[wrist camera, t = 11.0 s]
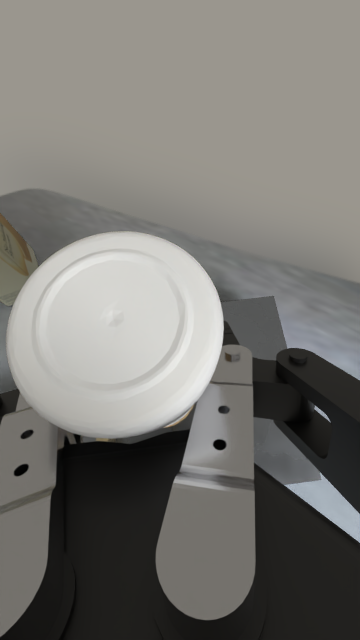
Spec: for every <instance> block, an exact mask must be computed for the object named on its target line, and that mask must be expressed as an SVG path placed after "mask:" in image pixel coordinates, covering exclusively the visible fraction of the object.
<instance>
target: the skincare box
mask: <svg viewBox="0 0 360 640" xmlns="http://www.w3.org/2000/svg"><path fill="white" fill-rule="evenodd" d="M38 267H39V266H38V263H37V260H36V257H35V254H34V251H33V249H32V248H31V247H30V246H29V245H28V244H27V242H26V241H25V240H24V239H23V238H22V237H21V236H20V235H19V234H18V232H17V231H16V230H15V229H14V228H13V227H12V226H11V225H10V223H9V222H8V221H7V220H6V219H5V218H4V217H3V215H2V214H1V213H0V301H1V302H2V303H3V304H5V305H6V306H11V305H13V304H14V302H15V300H16V298H17V296H18V294H19V292H20V290H21V289H22V287H23V285H24V284H25V283H26V281H27V280H28V278H29V277H30V276H31V275H32V274H33V272H34V271H35V270H36V269H37V268H38Z"/></svg>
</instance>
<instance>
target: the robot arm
mask: <svg viewBox="0 0 360 640" xmlns="http://www.w3.org/2000/svg"><path fill="white" fill-rule="evenodd" d="M223 323H224V331H223V343H222V348H221V353H220V356H219V360H218V363H217V366H216V368H215V371H214V373H213V376H212V378H211V380H210V382H209V384H208V386H207V387H206V389H205V390H204V392H203V394H202V395H201V396H200V397H199V399H198V401H197V405H196V409H195V413H194V417H193V421H192V425H191V429H188V430H180V431H172V432H166V433H163V434H160V435H157V436H154V437H151V438H148V439H145V440H142V441H140V442H137V443H133V444H127V443H116V442H106V441H93V442H85V443H83V436H82V435H78V434H74V433H71V432H68V431H66V430H64V429H62V428H60V427H57V426H56V425H54V424H52V423H50V422H49V421H47V420H46V419H45V418H43V417H42V416H40V415H39V414H38V413H37V412H36V411H35V410H34V409H33V408H32V407H31V406H30V405H29V404H28V403H27V402H26V400H25V398H24V397H23V396H22V395H21V393H20V391H19V389H16V390H13V391H10V392H6V393H3V394H0V640H360V543H359V542H358V541H357V540H355V539H354V538H353V537H351V536H350V535H349V534H347V533H346V532H345V531H343V530H342V529H341V528H339V527H338V526H337V525H336V524H334V523H333V522H332V521H330V520H329V519H328V518H326V517H325V516H324V515H322V514H321V513H320V512H318V511H317V510H316V509H315V508H313V507H312V506H311V505H309V504H308V503H307V502H305V501H304V500H303V499H301V498H300V497H299V496H297V495H296V494H295V493H294V492H292V491H291V490H290V489H288V488H287V487H286V486H284V485H283V484H282V483H280V482H279V481H278V480H276V479H275V478H274V477H273V476H271V475H270V474H269V473H267V472H266V471H265V470H263V469H262V468H261V467H259V466H258V465H257V464H255V463H254V435H253V417H256V418H264V419H272V420H273V421H274V423H275V425H276V426H277V427H278V428H279V429H280V430H281V431H282V432H283V434H284V435H285V436H286V437H287V438H288V439H289V440H290V441H291V442H292V443H293V444H294V445H295V446H296V447H297V448H298V449H299V450H300V451H301V452H302V454H303V455H304V456H305V457H306V458H307V459H308V460H309V461H310V462H311V463H312V464H313V465H314V466H315V467H316V468H317V469H318V470H319V471H320V472H321V473H322V475H323V476H324V477H325V478H326V479H327V480H328V481H329V482H330V483H331V484H332V485H333V486H334V487H335V488H336V489H337V490H338V491H339V492H340V493H341V495H342V496H343V497H344V498H345V499H346V500H347V501H348V502H349V503H350V504H351V505H352V506H353V507H354V508H355V509H356V510H357V511H358V512H359V513H360V380H358V379H356V378H355V377H353V376H351V375H350V374H348V373H346V372H345V371H343V370H341V369H340V368H338V367H336V366H334V365H333V364H331V363H329V362H328V361H326V360H324V359H323V358H321V357H319V356H318V355H316V354H314V353H313V352H311V351H308V350H305V349H299V348H288V349H284V350H281V351H280V352H278V354H277V356H276V360H264V359H257V358H254V357H252V353H251V351H250V350H249V349H248V348H246V347H243V346H240V344H239V342H238V340H237V338H236V337H235V335H234V334H233V331H232V329H231V327H230V326H229V324H228V322H226V321H224V320H223ZM315 405H316V406H317V407H318V408H319V409H320V410H322V411H323V412H324V413H325V414H326V415H327V416H328V418H329V419H330V421H331V423H330V422H329V421H328V420H327V419H325V418H324V417H323V416H322V415H321V414H319V413H318V412H317V411H316V410H315V409H314V408H315Z"/></svg>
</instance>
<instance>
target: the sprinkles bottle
mask: <svg viewBox="0 0 360 640" xmlns="http://www.w3.org/2000/svg"><path fill="white" fill-rule="evenodd" d="M223 331H224V323H223V312H222V307H221V302H220V299H219V296H218V293H217V290H216V288H215V286H214V284H213V282H212V280H211V279H210V277H209V276H208V274H207V273H206V272H205V270H204V269H203V268H202V266H201V265H200V264H199V263H198V262H197V261H196V259H195V258H193V257H192V256H191V255H190V254H188V253H187V252H186V251H185V250H183V249H182V248H180V247H178V246H177V245H175V244H173V243H171V242H169V241H167V240H165V239H162V238H159V237H156V236H153V235H150V234H145V233H139V232H130V231H116V232H107V233H101V234H97V235H93V236H89V237H86V238H83V239H80V240H78V241H75V242H73V243H71V244H69V245H67V246H66V247H64V248H62V249H60V250H59V251H57V252H56V253H54V254H53V255H52V256H50V257H49V258H48V259H47V260H45V261H44V262H43V263H42V264H41V265H40V266H39V267H38V268H37V269H36V270H35V271H34V272H33V274H32V275H31V276H30V277H29V278H28V280H27V281H26V283H25V284H24V285H23V287H22V289H21V290H20V292H19V294H18V296H17V298H16V300H15V302H14V304H13V307H12V310H11V313H10V316H9V321H8V326H7V333H6V350H7V359H8V364H9V367H10V371H11V374H12V377H13V379H14V382H15V384H16V386H17V387H18V389H19V391H20V393H21V395H22V396H23V397H24V398H25V400H26V402H27V403H28V404H29V405H30V406H31V407H32V408H33V409H34V410H35V411H36V412H37V413H38V414H39V415H40V416H42V417H43V418H45V419H46V420H47V421H49V422H50V423H52V424H54V425H56V426H57V427H60V428H62V429H64V430H66V431H68V432H71V433H74V434H78V435H82V436H86V437H92V438H107V439H117V438H126V437H132V436H138V435H143V434H147V433H150V432H153V431H156V430H159V429H161V428H166V427H171V426H173V425H176V424H178V423H179V422H180V421H182V420H183V419H185V418H186V417H187V416H188V414H189V412H190V411H191V410H192V408H193V406H194V404H195V403H196V402H197V401H198V399H199V397H200V396H201V395H202V394H203V392H204V390H205V389H206V387H207V386H208V384H209V382H210V380H211V378H212V376H213V373H214V371H215V368H216V366H217V363H218V360H219V356H220V353H221V348H222V343H223Z"/></svg>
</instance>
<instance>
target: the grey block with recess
mask: <svg viewBox="0 0 360 640" xmlns="http://www.w3.org/2000/svg"><path fill="white" fill-rule="evenodd" d="M221 307H222V312H223V320H224V321H226V322H228V324H229V326H230V327H231V329H232V331H233V334H234V335H235V337H236V338H237V340H238V342H239V344H240V346H243V347H246V348H248V349H249V350H250V351H251V353H252V357H254V358H257V359H264V360H276V356H277V354H278V352H280V351H281V350H284V349H287V346H286V342H285V338H284V334H283V330H282V326H281V322H280V319H279V315H278V311H277V307H276V303H275V299H274V296H269V297H261V298H252V299H244V300H235V301H227V302H221ZM196 405H197V402H196V403H195V404H194V406H193V408H192V410H191V411H190V412H189V414H188V416H187V417H186V418H185V419H183V420H182V421H180V422H179V423H178V424H176V425H173V426H171V427H166V428H161V429H159V430H156V431H153V432H150V433H147V434H143V435H138V436H132V437H126V438H117V439H107V438H92V437H86V436H83V443H85V442H93V441H106V442H116V443H127V444H133V443H137V442H140V441H142V440H145V439H148V438H151V437H154V436H157V435H160V434H163V433H166V432H172V431H180V430H188V429H191V425H192V421H193V417H194V413H195V409H196ZM253 435H254V463H255V464H257V465H258V466H259V467H261V468H262V469H263V470H265V471H266V472H267V473H269V474H270V475H271V476H273V477H274V478H275V479H276V480H278V481H279V482H280V483H282V484H283V485H287V484H294V483H302V482H309V481H317V480H321V476H320V473H319V470H318V469H317V468H316V467H315V466H314V465H313V464H312V463H311V462H310V461H309V460H308V459H307V458H306V457H305V456H304V455H303V454H302V452H301V451H300V450H299V449H298V448H297V447H296V446H295V445H294V444H293V443H292V442H291V441H290V440H289V439H288V438H287V437H286V436H285V435H284V434H283V432H282V431H281V430H280V429H279V428H278V427H277V426H276V425H275V423H274V421H273V420H272V419H264V418H256V417H253Z"/></svg>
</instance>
